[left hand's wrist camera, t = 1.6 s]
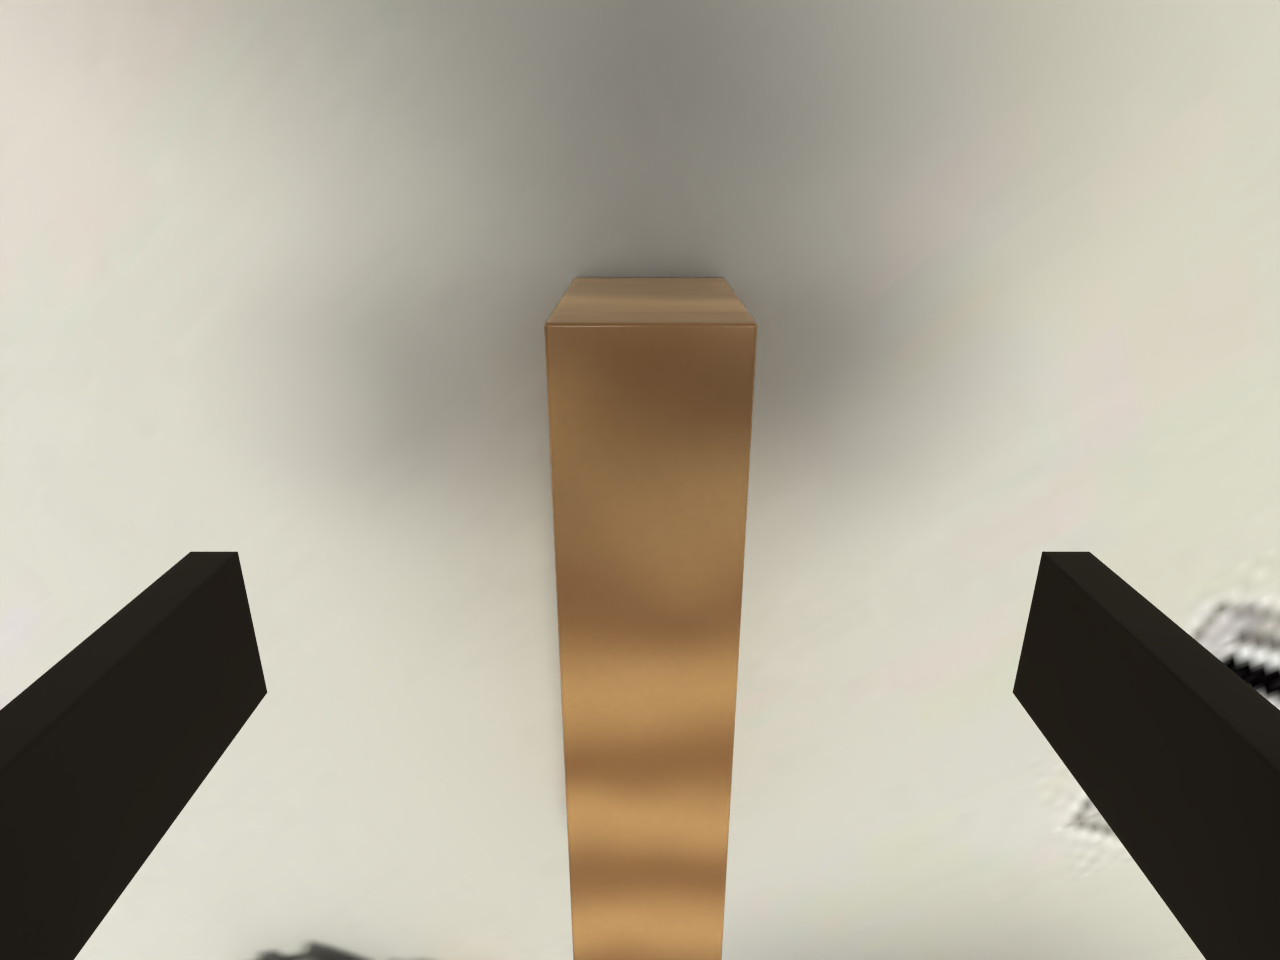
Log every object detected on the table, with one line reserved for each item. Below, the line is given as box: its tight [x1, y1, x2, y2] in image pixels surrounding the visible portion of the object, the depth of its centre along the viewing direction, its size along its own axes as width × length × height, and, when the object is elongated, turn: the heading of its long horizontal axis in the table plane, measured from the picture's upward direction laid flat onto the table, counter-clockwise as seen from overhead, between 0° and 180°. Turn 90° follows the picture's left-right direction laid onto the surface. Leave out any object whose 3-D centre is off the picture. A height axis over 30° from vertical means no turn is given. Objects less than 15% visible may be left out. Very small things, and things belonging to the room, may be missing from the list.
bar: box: [544, 278, 757, 960], centre depth 26 cm, size 23×5×8 cm, turn 0°
